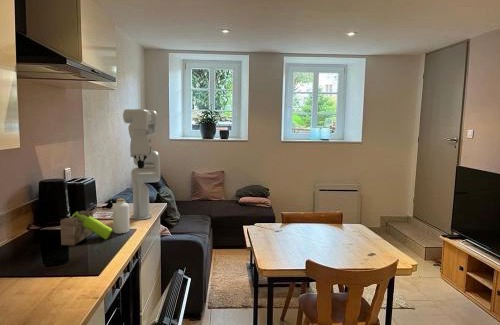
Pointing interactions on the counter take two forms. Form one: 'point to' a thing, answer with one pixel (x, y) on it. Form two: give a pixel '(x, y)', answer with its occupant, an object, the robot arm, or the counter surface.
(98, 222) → the soap dispenser
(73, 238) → the bottle rest
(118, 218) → the potion bottle
